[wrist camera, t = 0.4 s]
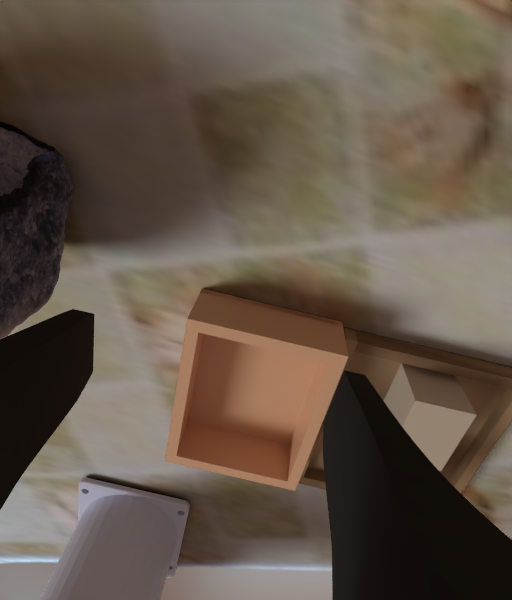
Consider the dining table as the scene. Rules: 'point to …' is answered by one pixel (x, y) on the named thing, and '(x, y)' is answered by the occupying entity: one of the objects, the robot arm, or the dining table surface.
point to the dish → (253, 388)
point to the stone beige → (430, 410)
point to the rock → (29, 224)
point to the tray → (469, 371)
